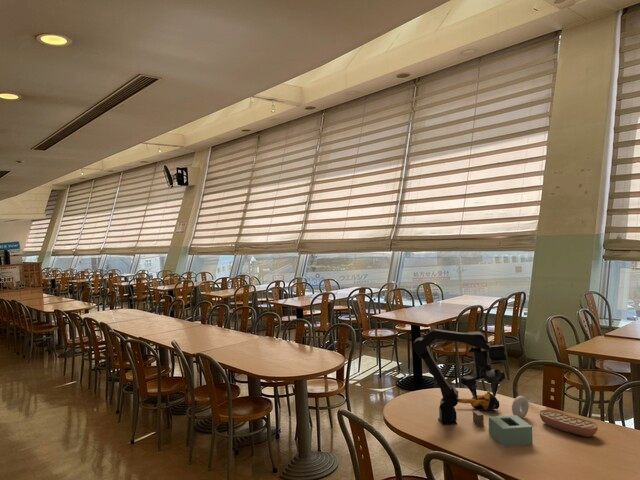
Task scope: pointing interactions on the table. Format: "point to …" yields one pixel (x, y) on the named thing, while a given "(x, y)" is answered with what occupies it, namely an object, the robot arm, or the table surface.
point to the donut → (519, 410)
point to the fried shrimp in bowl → (482, 402)
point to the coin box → (510, 430)
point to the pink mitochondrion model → (568, 423)
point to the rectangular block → (478, 418)
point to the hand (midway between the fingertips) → (485, 397)
